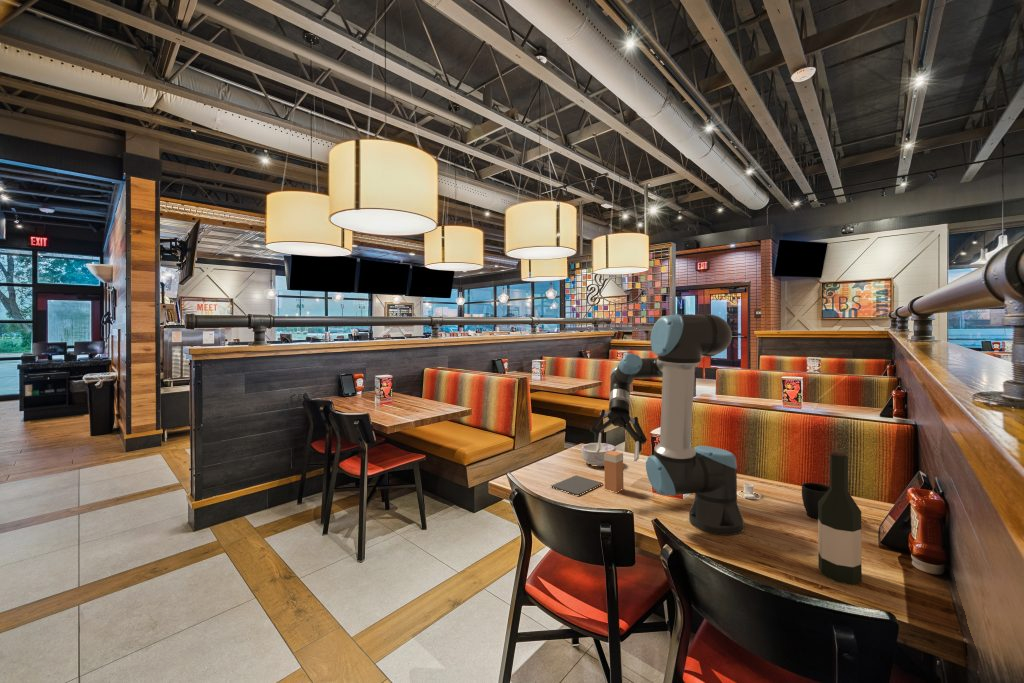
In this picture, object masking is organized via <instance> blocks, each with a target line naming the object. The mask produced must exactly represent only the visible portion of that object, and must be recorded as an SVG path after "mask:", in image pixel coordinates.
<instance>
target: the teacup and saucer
mask: <svg viewBox="0 0 1024 683" xmlns="http://www.w3.org/2000/svg"><path fill="white" fill-rule="evenodd" d="M741 491H743V492H742V493H744V494H743V495H742V494H740V495H739V494H738V493H739V492H741ZM754 493H756V494H758V495H759V498H757V497H756V494H754ZM738 496H739V497H741V498H743V499H746V498H747V500H760V499H763V497H762V495H761V494H760V493H758V492H755V491H754V485H753V484H752V483H749V482H748V483H747V482H745V483H743V490H737V497H738ZM742 496H743V497H742Z"/></svg>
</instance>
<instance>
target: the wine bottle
mask: <svg viewBox="0 0 1024 683" xmlns="http://www.w3.org/2000/svg"><path fill="white" fill-rule="evenodd" d="M831 451H832V452H831V453H829V464H830V466H829V471H830V472H829V473H830V474H829V476H830V477H829V480H830V483H829V485H830V486H829V487H830V489H829V490H828V491H827V492H826V493H825V494H824V496H823V497H822V498H821V499H820V500H819V501H818V520H817V524H818V526H817V527H818V528H817V529H818V530H817V531H818V532H817V534H818V535H817V536H818V538H817V542H818V544H817V545H818V548H817V550H818V553H817V554H818V557H817V560H818V561H817V562H818V564H817V565H818V570H819V571H820V574H821V575H822V576H823V577H825V578H827V579H829V580H831V581H834V582H836V583H840V584H845V585H852V586H854V585H856V584H859V583H862V577H863V576H862V511H861V509H860V507H859V506H858V504H857V503H856V501H855V500H854V498H853V497H852V495H851V494H850V492H849V456H848V455H846V452H845V451H843V450H837V449H836V450H835V449H834V450H831Z"/></svg>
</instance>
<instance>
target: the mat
mask: <svg viewBox="0 0 1024 683" xmlns="http://www.w3.org/2000/svg"><path fill="white" fill-rule="evenodd" d="M601 484H603V485H604V483H603V482H601V481H597V480H594V479H591V478H587V477H584V476H580V475H573V476H571V477H569V478H566V479H564V480H563V479H562V480H561V481H558V482H556V483H554V484H551V485H550V487H551V486H552V487H554V488H557V489H560V490H563V491H566V492H569V493H571V494H570V495H572V494H574V495H573V496H575V495H580V494H582V493H584V492H586V491H589V490H590V489H593V488H595V487H597V486H599V485H601ZM599 487H600V486H599ZM597 488H598V487H597ZM595 489H596V488H595ZM593 490H594V489H593ZM563 491H562V492H563ZM566 492H565V493H566ZM589 492H590V491H589ZM569 493H568V494H569ZM580 496H581V495H580Z"/></svg>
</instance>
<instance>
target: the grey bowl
mask: <svg viewBox="0 0 1024 683" xmlns="http://www.w3.org/2000/svg"><path fill="white" fill-rule="evenodd" d="M580 450H581V458H582V459H583V460H585V462H586V463H587V464H588V463H589V464H591V465H597V466H604V453H606V452H609V451H616V452H617V449H616V447H615V445H612V444H609V443H606V442H603V443H602V442H601V449H600V451H599V453H597V452H596V450H597V443H596V442H590V443H587V444H583V445H582V446H581V449H580ZM589 464H588V465H589Z"/></svg>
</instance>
